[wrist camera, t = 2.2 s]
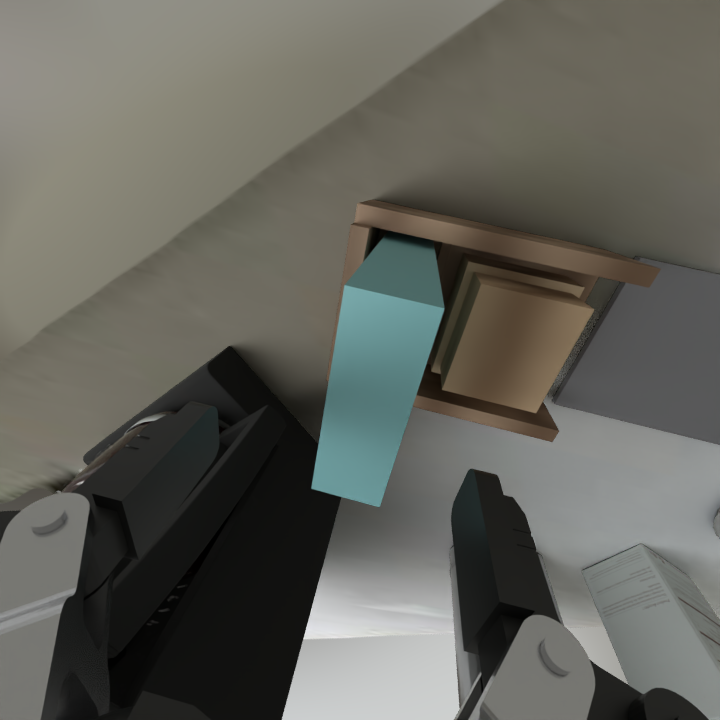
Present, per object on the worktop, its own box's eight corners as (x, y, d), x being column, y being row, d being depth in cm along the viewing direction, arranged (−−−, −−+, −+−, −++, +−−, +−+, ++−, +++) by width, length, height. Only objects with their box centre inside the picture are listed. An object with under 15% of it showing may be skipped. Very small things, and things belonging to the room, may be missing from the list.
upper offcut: (572, 293, 20) (594, 309, 17) (523, 387, 23) (536, 413, 21) (473, 271, 20) (481, 284, 18) (440, 367, 24) (442, 389, 21)
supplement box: (625, 600, 38) (708, 771, 27) (578, 569, 37) (645, 733, 26) (692, 575, 34) (819, 760, 23) (642, 540, 33) (751, 716, 22)
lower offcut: (565, 275, 22) (584, 287, 20) (517, 374, 26) (527, 395, 24) (463, 252, 23) (468, 261, 20) (430, 353, 27) (431, 371, 24)
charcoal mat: (859, 304, 21) (870, 307, 21) (724, 442, 27) (730, 447, 26) (635, 256, 22) (640, 257, 21) (552, 399, 28) (554, 404, 27)
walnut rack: (604, 249, 22) (674, 273, 16) (528, 394, 28) (557, 452, 22) (372, 199, 23) (354, 204, 17) (345, 349, 29) (324, 392, 23)
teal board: (432, 238, 23) (444, 308, 10) (401, 352, 27) (379, 507, 14) (390, 228, 23) (344, 285, 10) (365, 343, 27) (311, 488, 14)
